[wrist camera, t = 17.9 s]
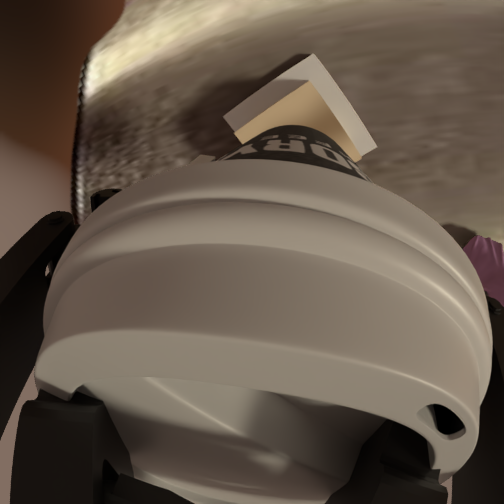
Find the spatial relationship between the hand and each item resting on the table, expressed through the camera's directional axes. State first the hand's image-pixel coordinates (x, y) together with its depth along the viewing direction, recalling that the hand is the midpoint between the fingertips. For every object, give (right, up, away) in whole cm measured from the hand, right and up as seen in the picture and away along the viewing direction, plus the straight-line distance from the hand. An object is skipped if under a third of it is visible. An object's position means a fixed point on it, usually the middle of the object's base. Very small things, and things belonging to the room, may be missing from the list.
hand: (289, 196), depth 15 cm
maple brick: (+3, +10, +17) cm, 20 cm away
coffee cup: (0, +1, +2) cm, 2 cm away
